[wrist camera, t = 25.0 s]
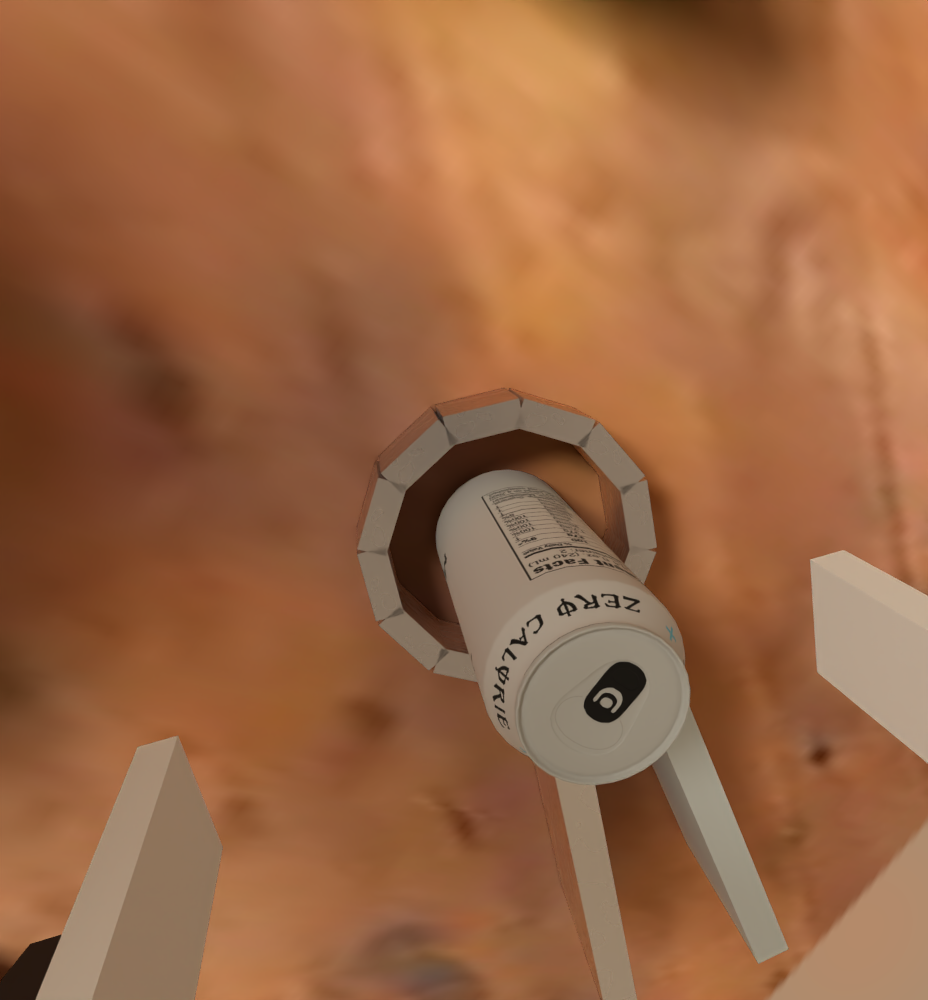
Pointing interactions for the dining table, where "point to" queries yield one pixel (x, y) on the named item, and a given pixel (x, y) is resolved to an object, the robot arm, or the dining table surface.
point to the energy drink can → (560, 632)
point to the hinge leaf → (717, 839)
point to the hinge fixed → (444, 643)
